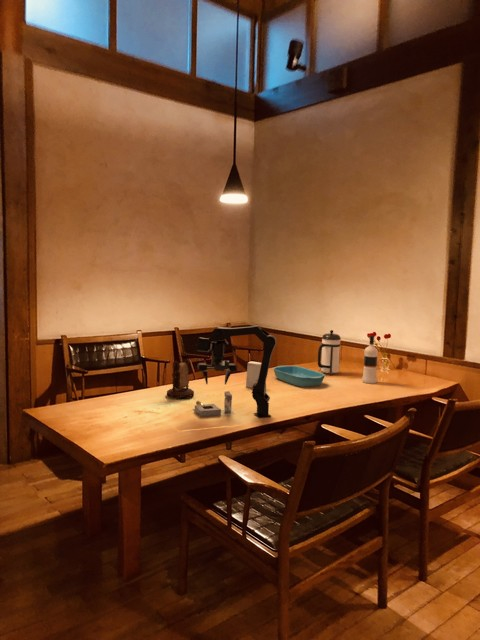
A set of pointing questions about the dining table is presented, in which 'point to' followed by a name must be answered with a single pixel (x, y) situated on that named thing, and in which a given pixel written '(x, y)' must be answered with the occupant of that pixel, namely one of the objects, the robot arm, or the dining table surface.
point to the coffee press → (329, 353)
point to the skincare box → (252, 373)
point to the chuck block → (207, 410)
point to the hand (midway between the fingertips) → (216, 384)
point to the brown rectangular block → (227, 402)
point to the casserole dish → (298, 375)
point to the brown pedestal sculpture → (178, 385)
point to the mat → (227, 413)
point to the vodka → (370, 363)
